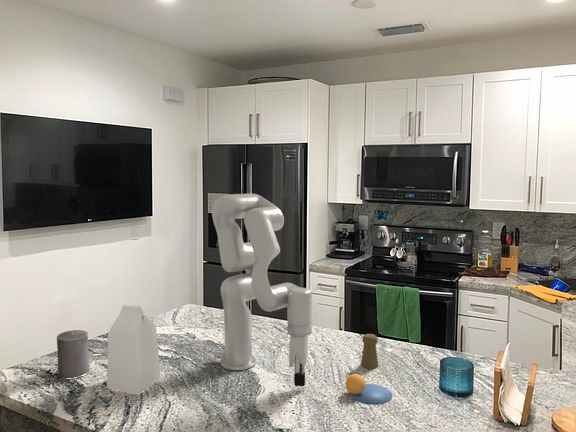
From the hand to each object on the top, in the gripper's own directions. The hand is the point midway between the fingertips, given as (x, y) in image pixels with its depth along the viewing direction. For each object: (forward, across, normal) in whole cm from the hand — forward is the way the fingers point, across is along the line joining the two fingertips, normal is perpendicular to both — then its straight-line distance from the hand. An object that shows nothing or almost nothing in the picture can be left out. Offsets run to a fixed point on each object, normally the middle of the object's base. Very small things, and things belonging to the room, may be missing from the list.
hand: (299, 384), depth 154 cm
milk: (+2, +4, -53) cm, 53 cm away
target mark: (+2, 0, +22) cm, 22 cm away
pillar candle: (+2, -1, -77) cm, 77 cm away
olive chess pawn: (+2, -22, +22) cm, 31 cm away
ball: (-2, 0, +17) cm, 17 cm away
